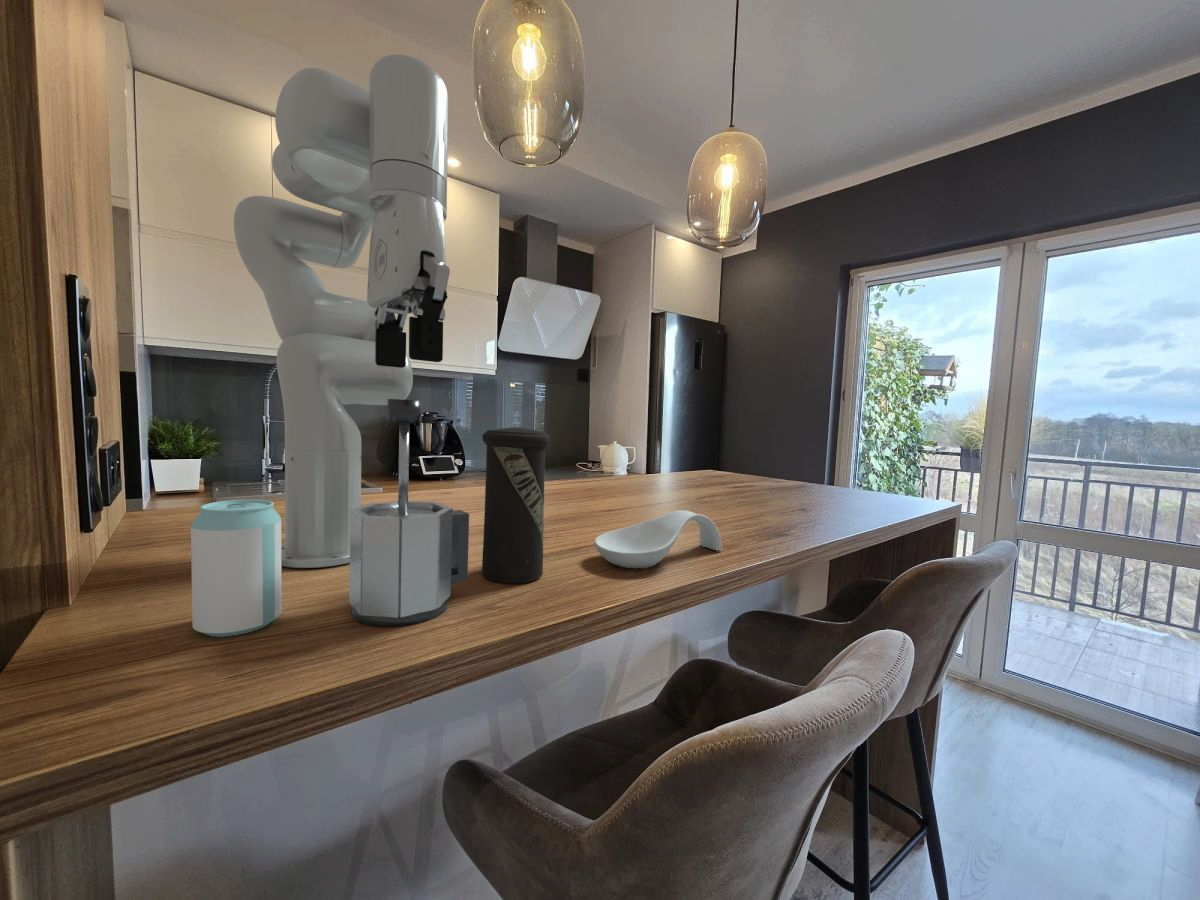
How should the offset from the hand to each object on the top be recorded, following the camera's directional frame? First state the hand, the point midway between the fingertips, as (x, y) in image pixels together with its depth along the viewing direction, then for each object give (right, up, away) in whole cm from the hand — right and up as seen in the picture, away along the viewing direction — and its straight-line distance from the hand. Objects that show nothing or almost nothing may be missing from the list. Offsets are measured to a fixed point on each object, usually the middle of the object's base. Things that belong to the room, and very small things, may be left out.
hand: (407, 363), depth 52 cm
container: (+8, -26, +15) cm, 31 cm away
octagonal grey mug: (-1, -26, +3) cm, 27 cm away
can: (-15, -27, -4) cm, 31 cm away
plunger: (-1, -17, +1) cm, 17 cm away
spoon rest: (+30, -27, +26) cm, 48 cm away
